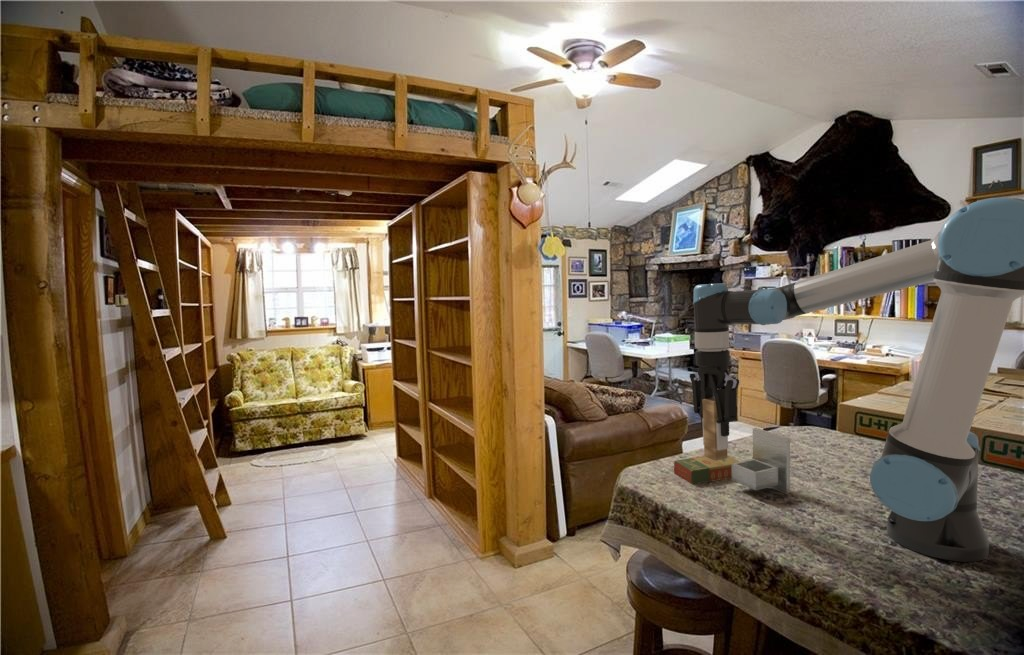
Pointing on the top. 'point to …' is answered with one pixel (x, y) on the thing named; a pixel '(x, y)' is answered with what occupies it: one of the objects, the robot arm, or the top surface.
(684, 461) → the carton
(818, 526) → the top surface
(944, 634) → the top surface
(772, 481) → the bracket
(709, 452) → the block
